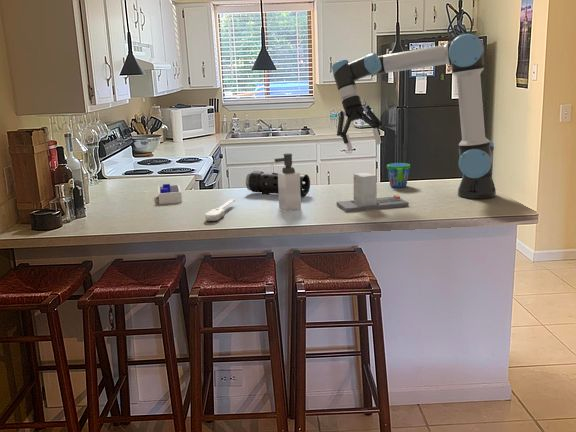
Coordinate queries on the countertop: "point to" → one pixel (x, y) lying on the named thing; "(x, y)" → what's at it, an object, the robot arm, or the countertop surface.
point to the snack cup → (398, 174)
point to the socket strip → (381, 204)
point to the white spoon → (217, 212)
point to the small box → (365, 189)
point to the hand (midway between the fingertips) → (365, 147)
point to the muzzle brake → (272, 183)
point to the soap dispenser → (288, 185)
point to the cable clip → (165, 188)
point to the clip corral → (170, 195)
